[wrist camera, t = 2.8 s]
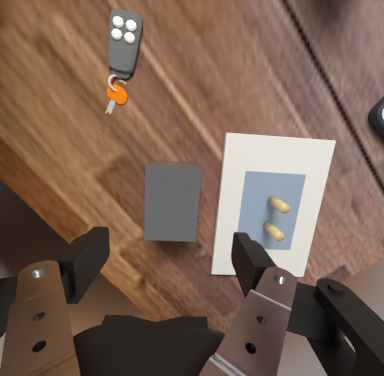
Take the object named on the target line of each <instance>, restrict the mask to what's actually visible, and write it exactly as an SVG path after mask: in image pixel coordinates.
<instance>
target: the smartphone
mask: <svg viewBox="0 0 384 376" xmlns="http://www.w3.org/2000/svg"><path fill="white" fill-rule="evenodd" d="M369 121H370V123H371V124H372V125H373V126H374V128H375V129H376V130H377V131H378V133H379V134H380V135H381V136H382V138H383V139H384V97H383V98H382V99H381V100H380V101H379V102H378V103H377V104H376V105H375V106H374V107H373V108H372V109H371V111H370V113H369Z"/></svg>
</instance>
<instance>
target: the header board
mask: <svg viewBox="0 0 384 376" xmlns="http://www.w3.org/2000/svg"><path fill="white" fill-rule="evenodd" d="M335 142H336V141H333V140H319V139H306V138H292V137H278V136H264V135H251V134H237V133H225V136H224V146H223V155H222V165H221V175H220V184H219V194H218V203H217V213H216V223H215V232H214V242H213V252H212V261H211V274H221V275H236V273H235V270H234V268H233V265H232V262H231V250H232V242H233V234H234V232H246V233H247V234H248V235H249V237H250V238H251V240H255V241H257V242H258V243H259V244H261V245H262V246H263V248H264V249H265V251H266V252H267V253H268V255H269V256H270V257H271V259H272V260H273V261H274V263H275V264H276V265H277V267H279V268H282V269H285V270H287V271H289V272H290V273H292V274H293V275H294V276H295V277H303V276H304V272H305V267H306V263H307V259H308V255H309V251H310V247H311V242H312V238H313V234H314V230H315V226H316V222H317V217H318V213H319V209H320V205H321V201H322V197H323V192H324V188H325V184H326V180H327V176H328V172H329V167H330V163H331V159H332V155H333V151H334V147H335Z"/></svg>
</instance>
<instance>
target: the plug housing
mask: <svg viewBox="0 0 384 376" xmlns="http://www.w3.org/2000/svg"><path fill="white" fill-rule="evenodd" d="M201 173H202V169H201V168H200V166H199V165H198V163H188V162H172V161H156V160H154V161H152V162H151V163H149V164H148V165H146V166H145V230H144V240H160V241H187V242H196V236H197V223H198V211H199V198H200V185H201Z"/></svg>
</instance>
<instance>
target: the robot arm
mask: <svg viewBox="0 0 384 376" xmlns="http://www.w3.org/2000/svg"><path fill="white" fill-rule="evenodd" d="M109 252H110V246H109V230H108V228H107V227H93V228H92V229H91V230H90V231H89V232H88V233H86V234H83V235H81V236H79V237H77V238H75V239H74V240H73V241H72V242H71V243H70V244H68V246H66V247H65V248H64V249H63V250H62V251H60V252H59V253H58V254H57V255H56V256H55V257H53V258H52V259H51V260H48V261H42V262H38V263H35V264H32V265H30V266H28V267H26V268H25V269H23V270H22V271H21V272H20V273H19V275H18V276H14V277H8V278H2V279H0V338H1V337H2V336H3V334H4V333H5V332H6V335H5V341H4V348H3V355H2V362H1V368H0V376H277V372H278V368H279V363H280V359H281V354H282V350H283V345H284V341H285V336H286V332H287V331H289V332H292V333H295V334H298V335H302V336H305V337H306V338H307V340H308V341H309V343H310V345H311V347H312V349H313V350H314V352H315V354H316V356H317V357H318V359H319V361H320V362H321V365H322V366H323V368H324V370H325V372H326V373H327V375H328V376H384V321H383V320H382V319H381V318H380V317H379V316H378V315H377V314H376V313H375V312H374V311H372V310H371V309H370V308H369V307H368V306H367V305H366V304H365V303H364V302H363V301H362V300H361V299H360V298H359V297H358V296H357V295H356V294H355V293H354V292H353V291H351V290H350V289H349V288H348V287H346V286H345V285H343V284H341V283H339V282H337V281H334V280H331V279H326V278H321V279H318V280H317V283H316V287H315V286H311V285H306V284H302V283H299V282H297V279H296V278H295V276H294V275H293V274H292V273H290V272H289V271H287V270H285V269H282V268H279V267H277V265H276V264H275V263H274V261H273V260H272V259H271V257H270V256H269V255H268V253H267V252H266V251H265V249H264V248H263V246H262V245H261V244H259V243H258V242H257V241H255V240H251V238H250V237H249V235H248V234H247V233H246V232H234V234H233V242H232V250H231V262H232V265H233V268H234V270H235V273H236V276H237V278H238V281H239V284H240V286H241V289H242V291H243V294H244V297H245V300H244V302H243V304H242V306H241V308H240V310H239V311H238V313H237V315H236V317H235V319H234V320H233V322H232V324H231V326H230V328H229V329H228V331H227V333H226V334H224V333H223V332H221V331H219V330H217V329H215V328H213V327H210V326H208V324H207V317H187V316H182V317H178V318H173V319H169V320H164V321H160V322H152V321H149V320H145V319H141V318H138V317H134V316H124V315H105V318H104V320H103V322H102V324H101V325H98V326H95V327H92V328H89V329H87V330H85V331H83V332H81V333H79V334H77V335H75V336H74V337H73V336H72V331H71V325H70V320H69V315H68V310H67V304H78V303H79V301H80V300H81V298H82V297H83V295H84V293H85V292H86V291H87V289H88V288H89V286H90V284H91V283H92V282H93V280H94V279H95V277H96V276H97V274H98V273H99V271H100V270H101V268H102V267H103V265H104V264H105V263H106V261H107V259H108V257H109ZM345 335H346V337H347V338H348V339H349V341H350V342H351V343H352V345H353V347H354V349H355V352H356V353H355V352H354V351H353V349H352V348H351V347H350V346H349V344H348V343H347V341H346V340H345V339H344V337H345Z"/></svg>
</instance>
